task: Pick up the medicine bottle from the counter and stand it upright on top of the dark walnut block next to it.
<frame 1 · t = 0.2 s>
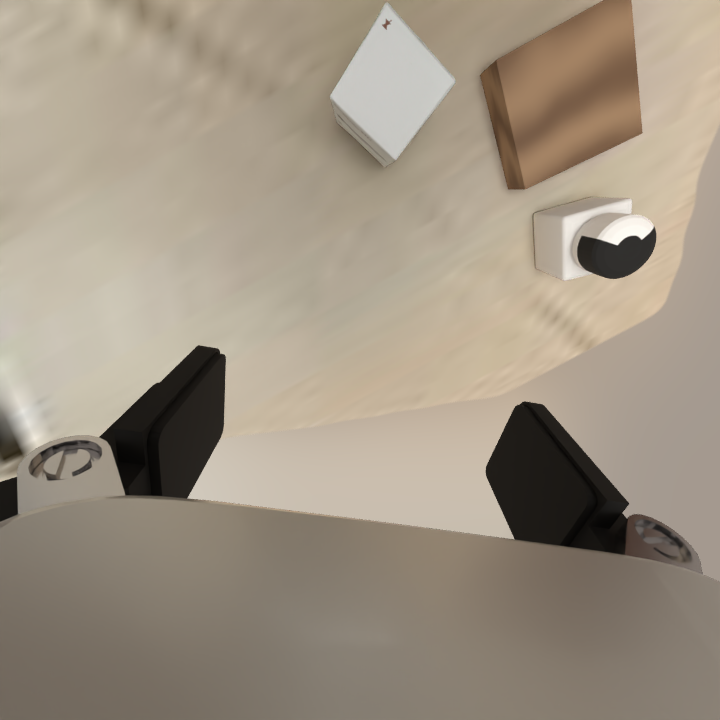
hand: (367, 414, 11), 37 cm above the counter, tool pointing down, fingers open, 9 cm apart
walnut block: (546, 108, 38), on the counter
medicine bottle: (561, 234, 44), on the counter
supplement box: (381, 117, 38), on the counter
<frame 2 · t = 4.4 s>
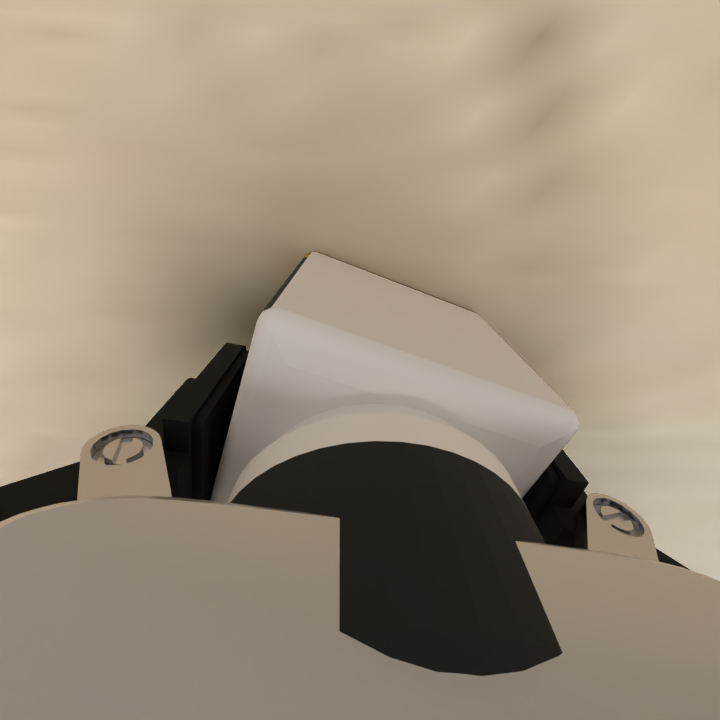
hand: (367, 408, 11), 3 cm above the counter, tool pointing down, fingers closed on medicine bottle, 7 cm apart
medicine bottle: (364, 358, 15), on the counter, touching gripper
when the fingers open (10 cm above the counter, at t = 10.3 s): medicine bottle drops 2 cm, resting on walnut block.
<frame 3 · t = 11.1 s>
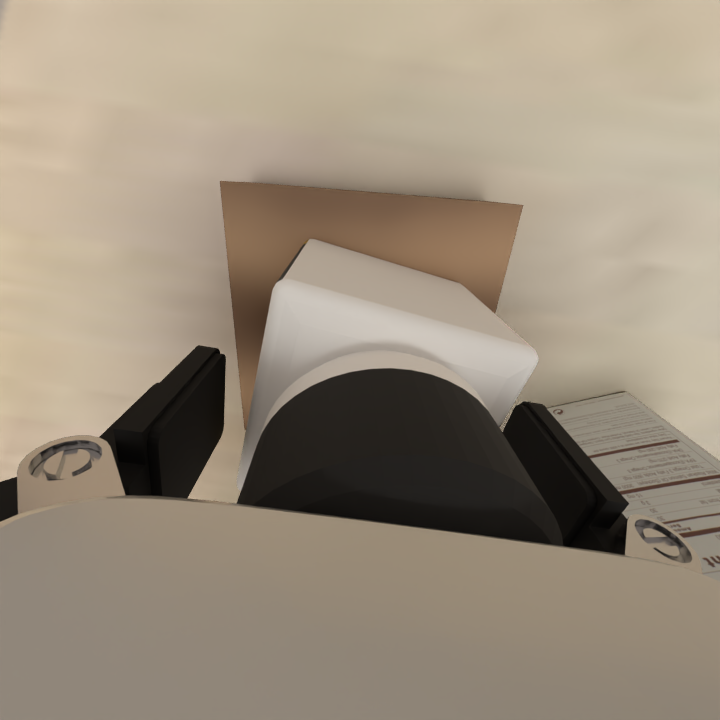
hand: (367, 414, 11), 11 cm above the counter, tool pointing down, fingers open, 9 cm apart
walnut block: (361, 302, 21), on the counter, touching medicine bottle
medicine bottle: (363, 333, 16), point 4 cm above the counter, touching walnut block
supplement box: (569, 438, 25), on the counter
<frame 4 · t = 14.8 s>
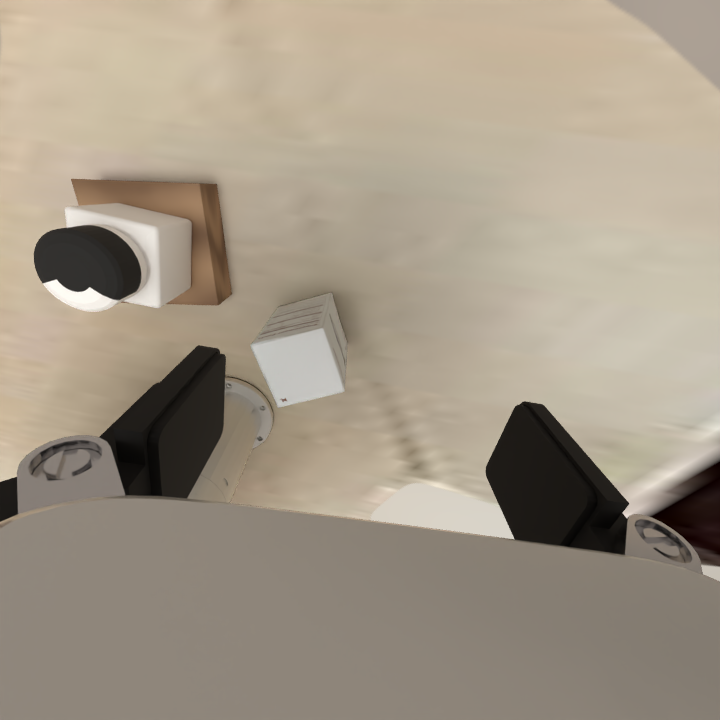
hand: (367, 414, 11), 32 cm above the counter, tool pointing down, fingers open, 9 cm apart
walnut block: (173, 240, 40), on the counter, touching medicine bottle
medicine bottle: (157, 247, 35), point 4 cm above the counter, touching walnut block
supplement box: (313, 324, 44), on the counter
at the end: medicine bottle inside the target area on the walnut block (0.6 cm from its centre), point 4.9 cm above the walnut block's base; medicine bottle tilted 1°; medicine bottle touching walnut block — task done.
